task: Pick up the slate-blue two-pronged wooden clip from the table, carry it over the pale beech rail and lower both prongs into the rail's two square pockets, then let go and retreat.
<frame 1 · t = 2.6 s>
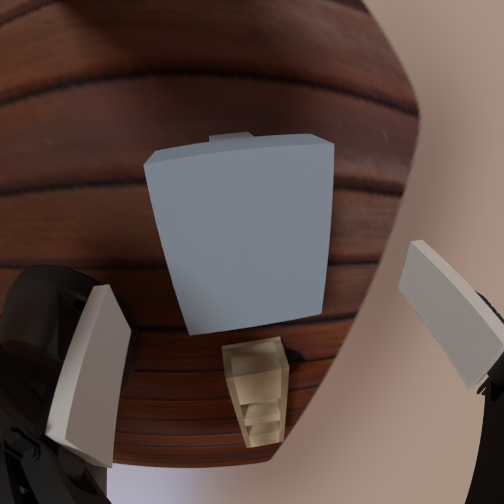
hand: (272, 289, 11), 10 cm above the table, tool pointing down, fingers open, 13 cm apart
clip: (235, 200, 19), on the table
rail: (257, 394, 34), on the table
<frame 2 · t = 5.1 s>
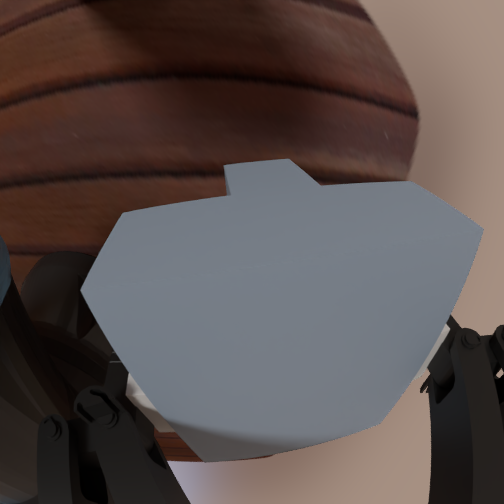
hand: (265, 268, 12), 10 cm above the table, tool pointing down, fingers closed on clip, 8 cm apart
clip: (263, 264, 13), point 10 cm above the table, touching gripper
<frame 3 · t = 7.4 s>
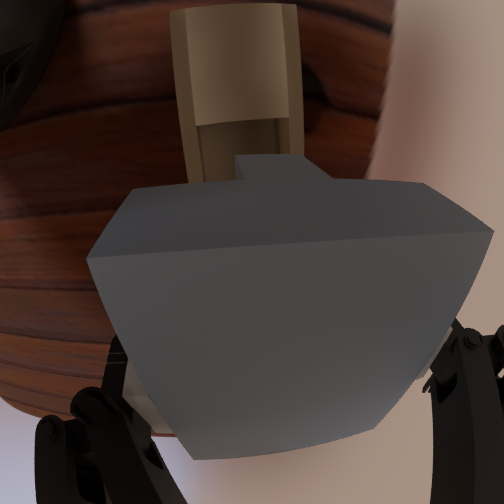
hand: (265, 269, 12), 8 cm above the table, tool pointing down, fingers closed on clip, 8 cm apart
clip: (265, 260, 12), point 7 cm above the table, touching gripper
rail: (242, 198, 19), on the table
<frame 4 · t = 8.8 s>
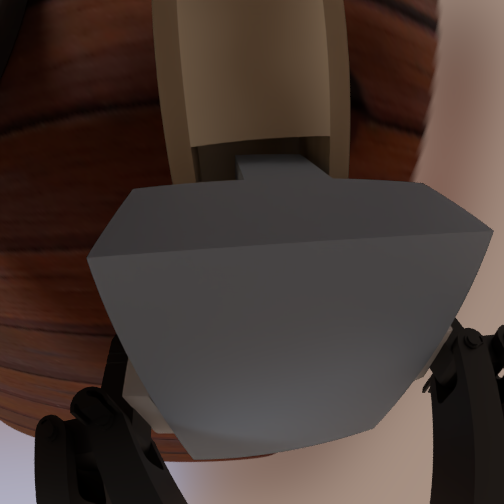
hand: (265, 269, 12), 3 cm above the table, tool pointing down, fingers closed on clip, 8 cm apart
clip: (265, 260, 13), point 2 cm above the table, touching gripper
rail: (255, 236, 15), on the table
when the fingers open (1 cm above the table, at t = 9.8 s): clip stays where it is, resting on rail.
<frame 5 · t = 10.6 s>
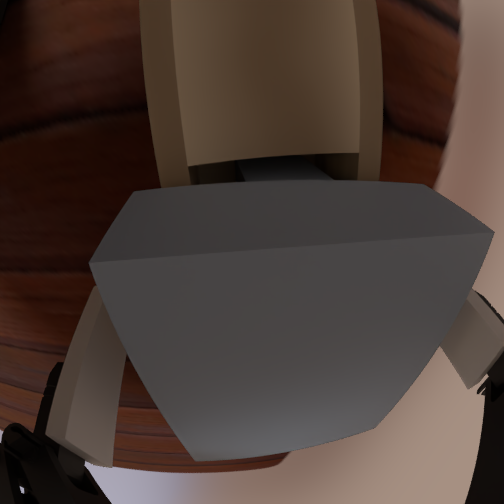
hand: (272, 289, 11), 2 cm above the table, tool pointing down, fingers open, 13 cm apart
clip: (265, 261, 12), resting on rail
rail: (262, 259, 13), on the table
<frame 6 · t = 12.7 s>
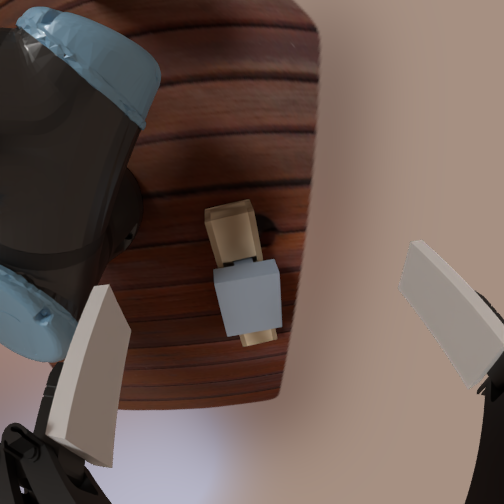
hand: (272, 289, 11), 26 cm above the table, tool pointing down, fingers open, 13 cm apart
clip: (244, 276, 42), resting on rail
rail: (243, 275, 43), on the table
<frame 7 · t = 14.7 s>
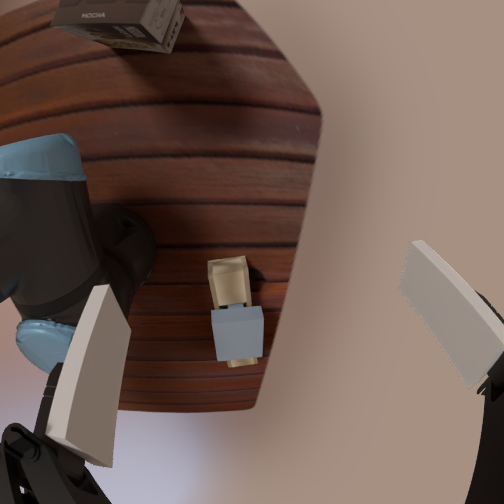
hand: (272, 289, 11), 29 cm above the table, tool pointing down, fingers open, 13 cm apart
coffee box: (146, 29, 24), on the table
clip: (234, 312, 50), resting on rail
rail: (234, 312, 51), on the table
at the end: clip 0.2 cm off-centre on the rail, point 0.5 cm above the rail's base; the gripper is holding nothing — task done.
